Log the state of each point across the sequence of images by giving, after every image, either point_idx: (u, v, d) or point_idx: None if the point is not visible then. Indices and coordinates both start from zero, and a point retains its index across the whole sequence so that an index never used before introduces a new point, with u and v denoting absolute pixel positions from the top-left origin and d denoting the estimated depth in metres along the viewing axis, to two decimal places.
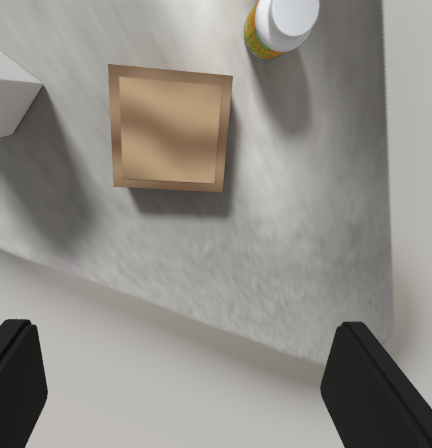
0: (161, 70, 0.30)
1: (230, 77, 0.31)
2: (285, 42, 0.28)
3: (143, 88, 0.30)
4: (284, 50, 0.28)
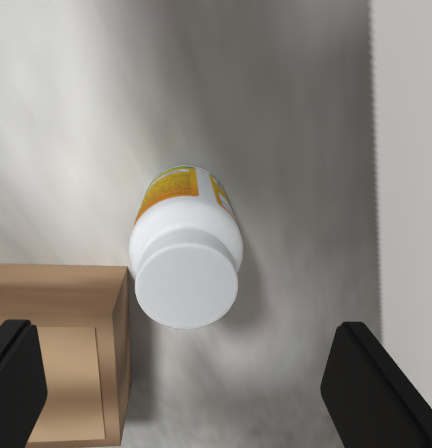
0: None
1: (108, 315, 0.17)
2: None
3: None
4: None
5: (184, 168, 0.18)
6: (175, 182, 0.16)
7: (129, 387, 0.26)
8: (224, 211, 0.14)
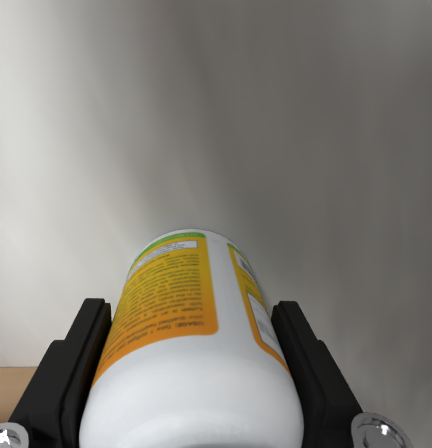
0: None
1: None
2: None
3: None
4: None
5: (188, 238, 0.12)
6: (172, 280, 0.09)
7: None
8: (271, 365, 0.07)
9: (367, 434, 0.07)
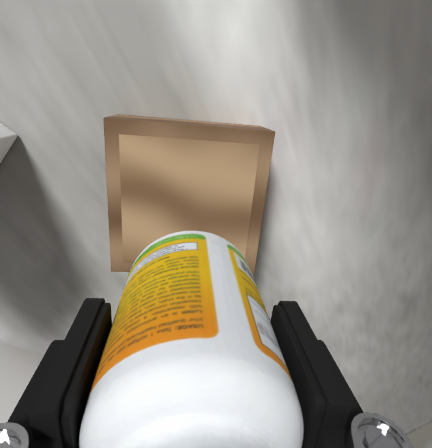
0: (177, 125, 0.21)
1: (271, 133, 0.22)
2: None
3: (152, 148, 0.22)
4: None
5: (188, 240, 0.12)
6: (172, 282, 0.09)
7: None
8: (271, 367, 0.07)
9: (367, 434, 0.07)
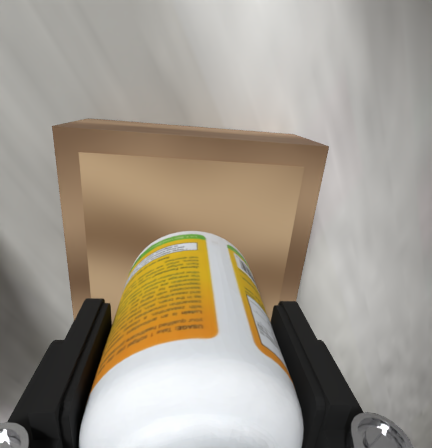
0: (174, 137, 0.13)
1: (323, 149, 0.14)
2: None
3: (134, 174, 0.14)
4: None
5: (188, 240, 0.12)
6: (172, 282, 0.09)
7: None
8: (271, 368, 0.07)
9: (367, 434, 0.07)
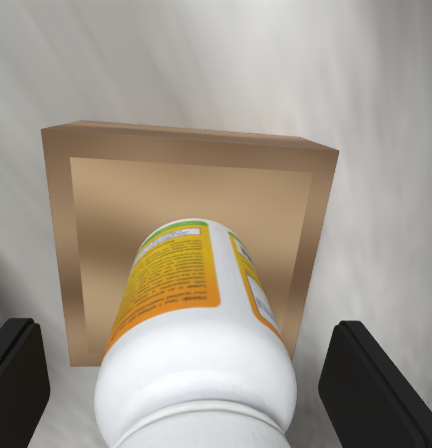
0: (173, 141, 0.12)
1: (333, 154, 0.13)
2: None
3: (130, 181, 0.13)
4: None
5: (192, 226, 0.12)
6: (177, 262, 0.10)
7: None
8: (267, 335, 0.08)
9: None
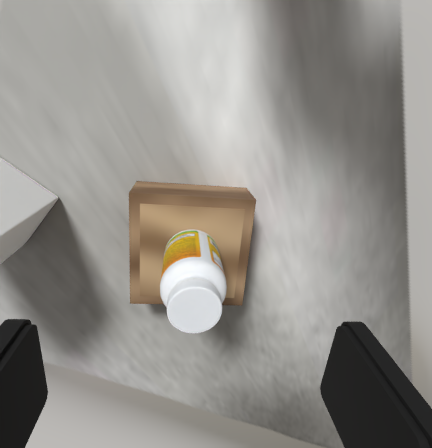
0: (183, 197, 0.29)
1: (253, 201, 0.30)
2: None
3: (164, 213, 0.29)
4: None
5: (191, 232, 0.29)
6: (186, 245, 0.26)
7: None
8: (215, 266, 0.24)
9: None
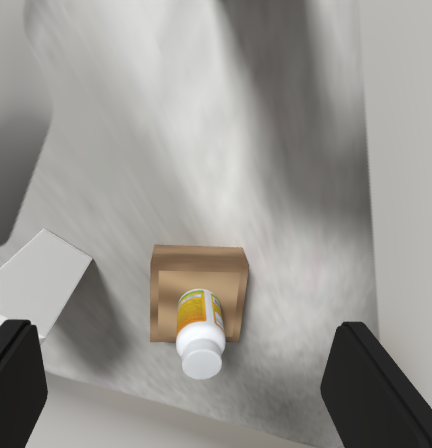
0: (192, 265, 0.37)
1: (247, 267, 0.38)
2: None
3: (177, 277, 0.38)
4: None
5: (198, 293, 0.37)
6: (195, 308, 0.35)
7: None
8: (217, 327, 0.33)
9: None
